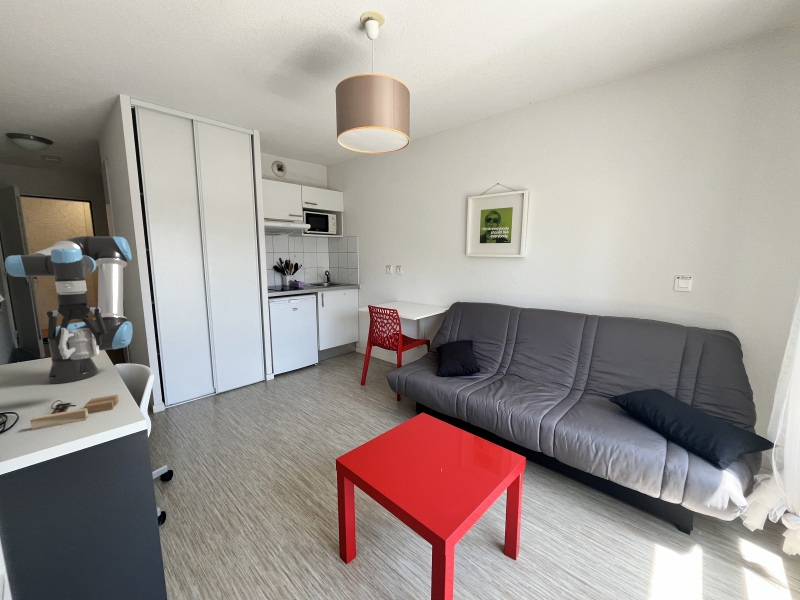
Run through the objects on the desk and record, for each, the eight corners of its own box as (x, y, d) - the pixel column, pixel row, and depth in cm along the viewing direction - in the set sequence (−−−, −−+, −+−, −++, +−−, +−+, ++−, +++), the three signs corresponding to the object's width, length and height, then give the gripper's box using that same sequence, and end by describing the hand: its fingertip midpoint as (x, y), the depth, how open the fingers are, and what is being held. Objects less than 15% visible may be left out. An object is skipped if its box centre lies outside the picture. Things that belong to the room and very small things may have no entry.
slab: (92, 407, 111) (91, 398, 111) (118, 402, 115) (117, 394, 114) (84, 415, 105) (83, 406, 105) (112, 410, 109) (111, 401, 108)
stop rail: (35, 426, 98) (33, 417, 97) (88, 417, 103) (87, 408, 103) (31, 429, 96) (30, 420, 96) (86, 419, 102) (84, 410, 101)
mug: (103, 353, 123) (99, 322, 121) (73, 363, 111) (69, 329, 109) (82, 353, 122) (78, 322, 121) (50, 363, 111) (45, 329, 109)
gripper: (25, 296, 106) (36, 363, 109) (107, 292, 116) (115, 354, 119) (36, 294, 113) (47, 357, 116) (113, 290, 122) (121, 349, 125)
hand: (81, 355), depth 117 cm, fingers closed on mug, 8 cm apart
